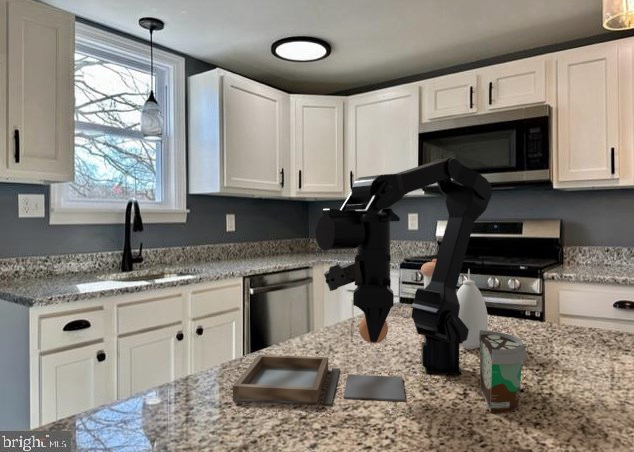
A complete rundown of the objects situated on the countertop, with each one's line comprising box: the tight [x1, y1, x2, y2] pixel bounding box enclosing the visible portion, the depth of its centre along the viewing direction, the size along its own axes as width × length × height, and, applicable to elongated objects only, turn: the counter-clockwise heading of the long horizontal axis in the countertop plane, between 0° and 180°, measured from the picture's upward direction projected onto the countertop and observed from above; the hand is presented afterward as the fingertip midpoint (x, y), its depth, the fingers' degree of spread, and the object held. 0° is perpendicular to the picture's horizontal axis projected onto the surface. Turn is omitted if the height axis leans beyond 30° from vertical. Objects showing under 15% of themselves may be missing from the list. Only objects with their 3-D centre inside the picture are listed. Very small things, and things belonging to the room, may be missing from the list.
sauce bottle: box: [456, 269, 489, 351], centre depth 98 cm, size 8×8×18 cm
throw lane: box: [232, 354, 406, 407], centre depth 78 cm, size 28×16×2 cm, turn 82°
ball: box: [358, 316, 389, 344], centre depth 76 cm, size 5×5×5 cm
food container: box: [479, 330, 528, 414], centre depth 70 cm, size 12×6×10 cm, turn 168°
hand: (373, 337), depth 76 cm, fingers closed on ball, 5 cm apart
